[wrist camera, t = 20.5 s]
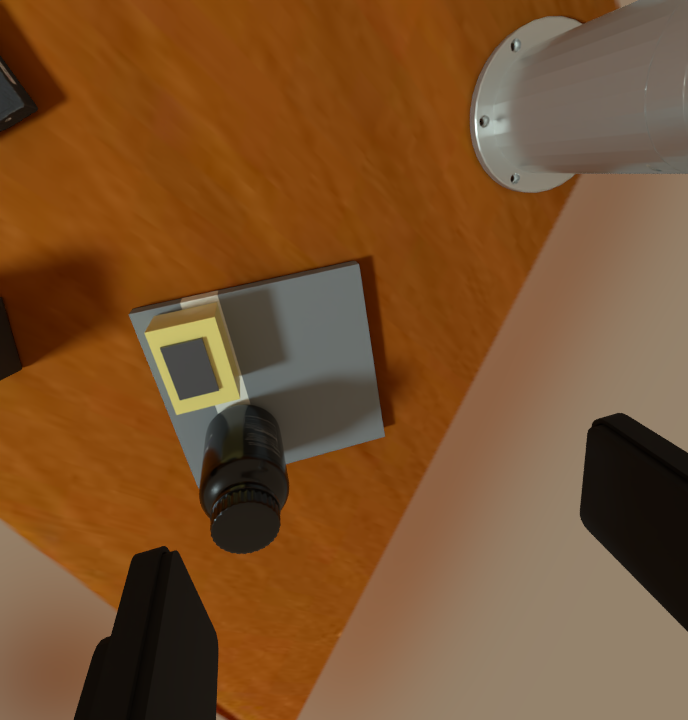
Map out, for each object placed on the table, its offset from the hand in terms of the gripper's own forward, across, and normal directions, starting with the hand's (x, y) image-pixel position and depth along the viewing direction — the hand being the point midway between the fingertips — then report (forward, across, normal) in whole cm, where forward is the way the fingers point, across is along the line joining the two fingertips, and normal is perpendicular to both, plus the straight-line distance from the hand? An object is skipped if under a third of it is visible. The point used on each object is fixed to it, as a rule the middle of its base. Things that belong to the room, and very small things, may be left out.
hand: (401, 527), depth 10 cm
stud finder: (+28, +8, +5) cm, 30 cm away
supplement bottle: (+29, +7, +14) cm, 33 cm away
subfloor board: (+30, +3, +10) cm, 32 cm away
